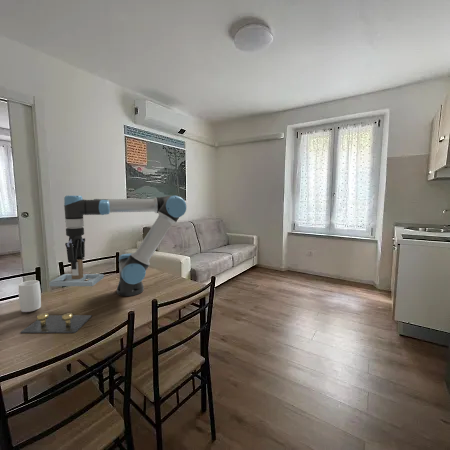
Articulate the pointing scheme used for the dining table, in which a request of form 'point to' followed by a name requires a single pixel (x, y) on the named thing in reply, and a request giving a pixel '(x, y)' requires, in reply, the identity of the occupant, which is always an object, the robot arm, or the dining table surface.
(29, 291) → the cup
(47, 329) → the plate
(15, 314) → the dining table surface
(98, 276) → the panel
